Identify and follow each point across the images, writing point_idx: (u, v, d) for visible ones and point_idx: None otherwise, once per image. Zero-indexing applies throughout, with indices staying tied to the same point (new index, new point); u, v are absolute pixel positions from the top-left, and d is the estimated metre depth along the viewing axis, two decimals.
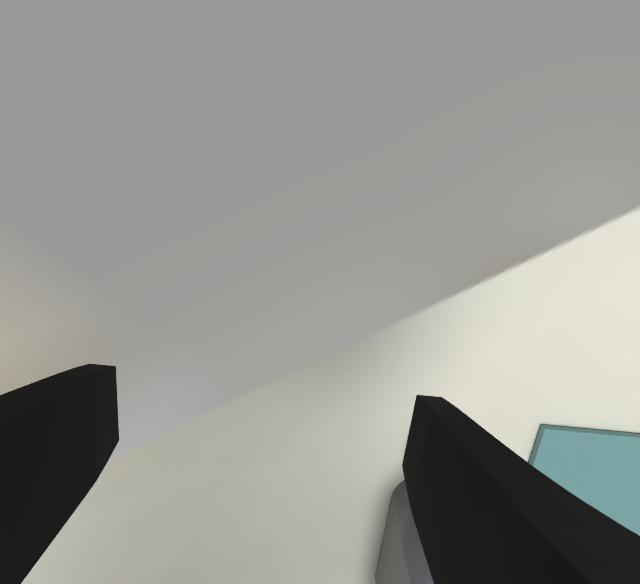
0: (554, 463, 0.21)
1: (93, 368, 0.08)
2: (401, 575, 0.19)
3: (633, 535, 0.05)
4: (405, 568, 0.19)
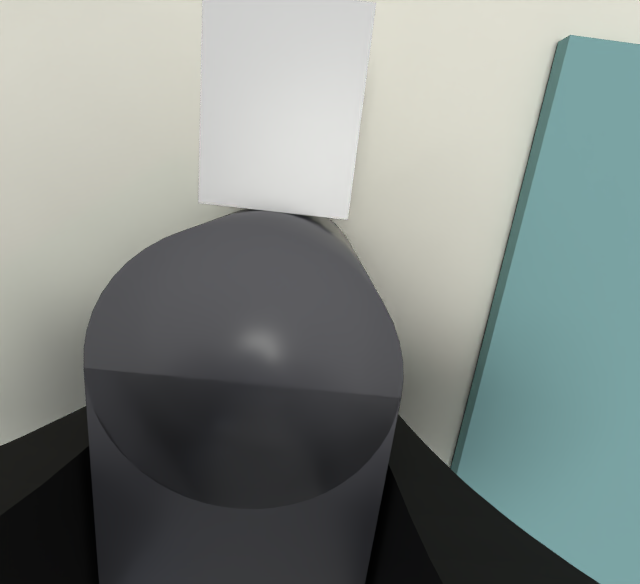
0: (593, 152, 0.08)
1: None
2: None
3: (514, 524, 0.05)
4: None
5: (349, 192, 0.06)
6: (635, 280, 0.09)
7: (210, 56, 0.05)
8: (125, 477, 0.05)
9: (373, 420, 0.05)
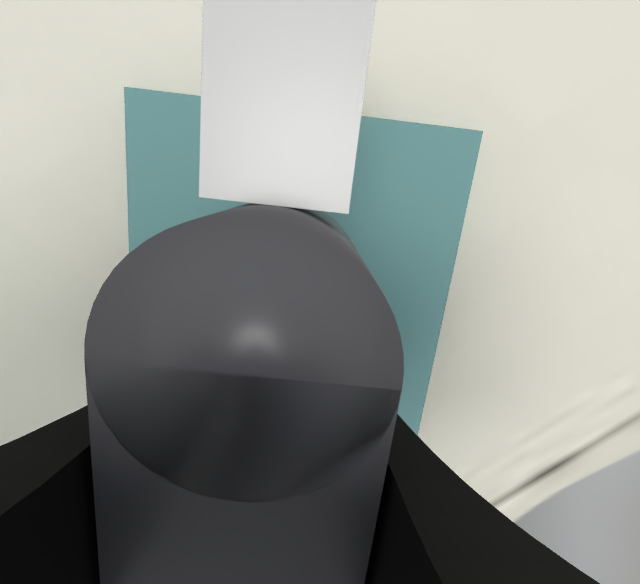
0: (158, 154, 0.14)
1: None
2: None
3: (514, 526, 0.05)
4: None
5: (349, 186, 0.06)
6: None
7: (211, 50, 0.05)
8: (126, 470, 0.05)
9: (374, 413, 0.05)
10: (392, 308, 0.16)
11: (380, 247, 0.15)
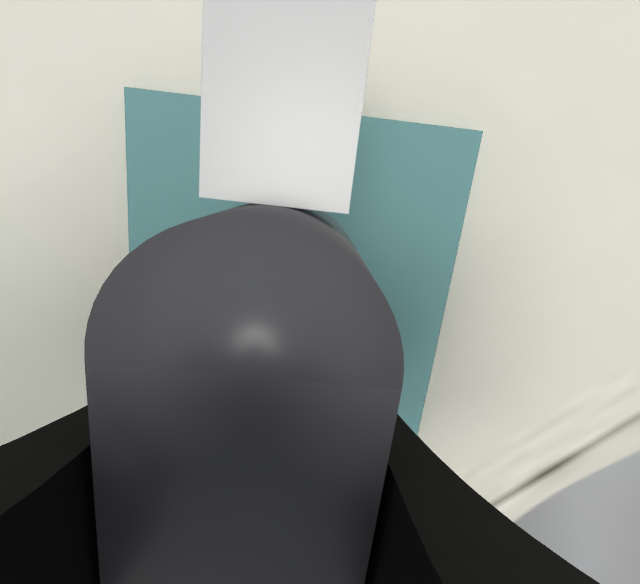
0: (158, 154, 0.14)
1: None
2: None
3: (514, 526, 0.05)
4: None
5: (350, 186, 0.06)
6: None
7: (211, 50, 0.05)
8: (126, 470, 0.05)
9: (374, 413, 0.05)
10: (392, 308, 0.16)
11: (380, 247, 0.15)
